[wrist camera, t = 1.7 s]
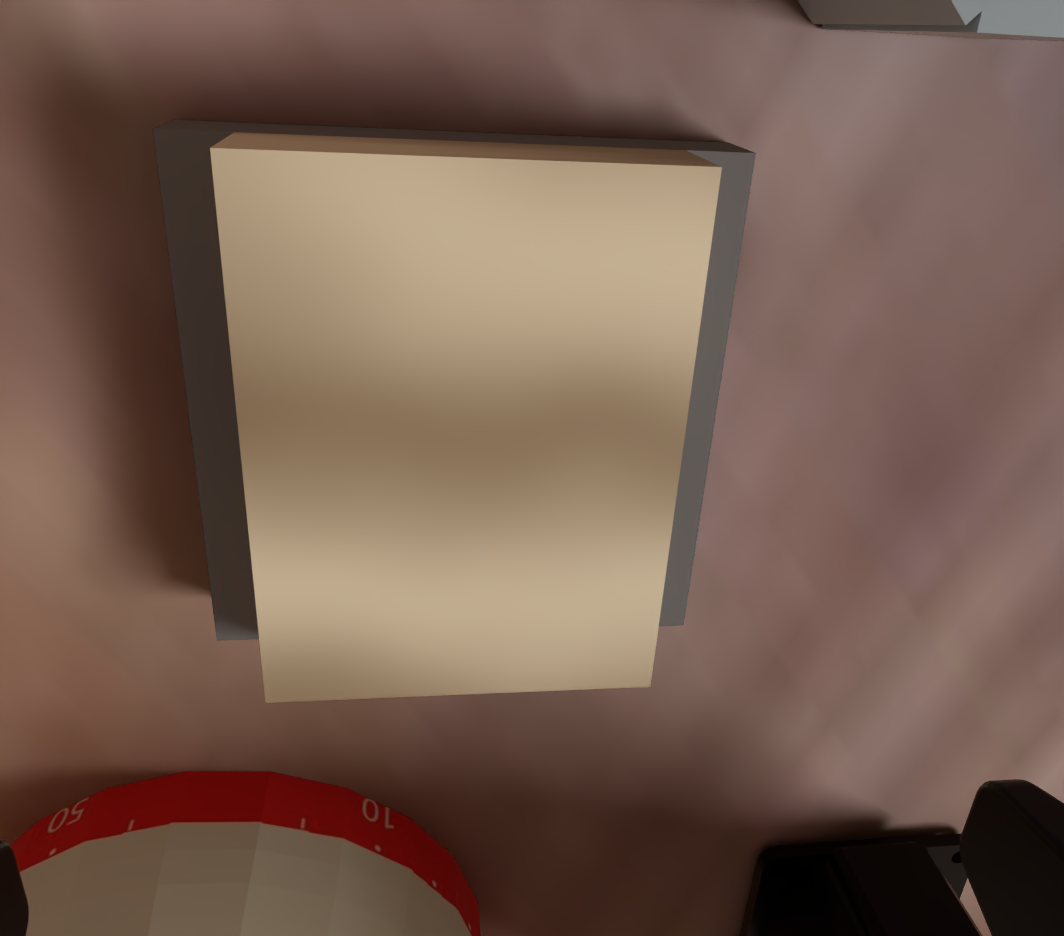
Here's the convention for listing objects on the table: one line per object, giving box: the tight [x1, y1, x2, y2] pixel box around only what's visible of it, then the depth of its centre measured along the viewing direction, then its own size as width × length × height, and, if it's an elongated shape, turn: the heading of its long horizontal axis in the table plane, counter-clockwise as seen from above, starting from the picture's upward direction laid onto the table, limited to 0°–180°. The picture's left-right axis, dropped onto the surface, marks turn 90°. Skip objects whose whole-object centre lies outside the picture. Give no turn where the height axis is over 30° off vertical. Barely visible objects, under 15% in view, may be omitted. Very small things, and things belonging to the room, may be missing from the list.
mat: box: [153, 120, 755, 640], centre depth 18 cm, size 10×10×2 cm
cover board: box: [210, 132, 722, 703], centre depth 16 cm, size 10×8×2 cm
